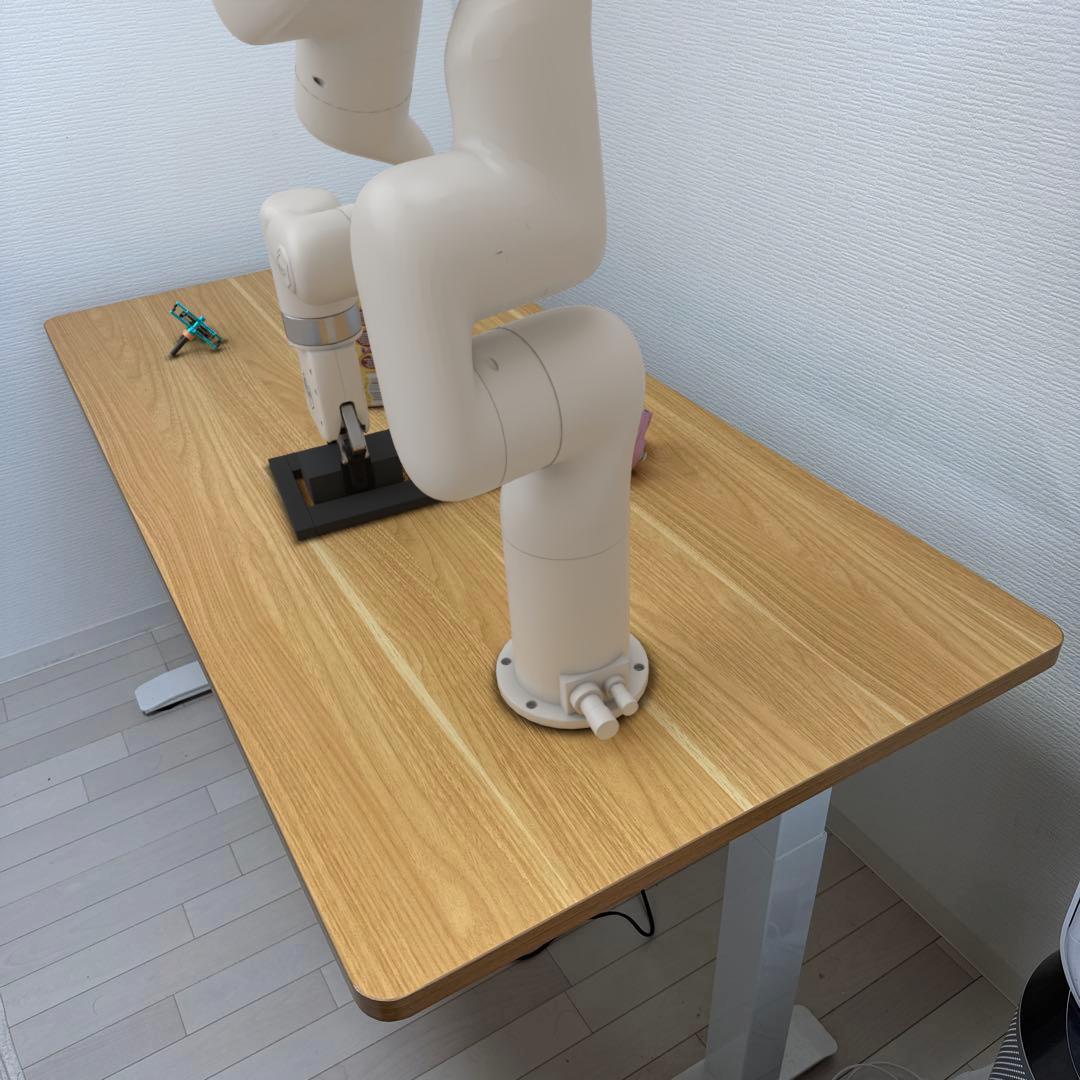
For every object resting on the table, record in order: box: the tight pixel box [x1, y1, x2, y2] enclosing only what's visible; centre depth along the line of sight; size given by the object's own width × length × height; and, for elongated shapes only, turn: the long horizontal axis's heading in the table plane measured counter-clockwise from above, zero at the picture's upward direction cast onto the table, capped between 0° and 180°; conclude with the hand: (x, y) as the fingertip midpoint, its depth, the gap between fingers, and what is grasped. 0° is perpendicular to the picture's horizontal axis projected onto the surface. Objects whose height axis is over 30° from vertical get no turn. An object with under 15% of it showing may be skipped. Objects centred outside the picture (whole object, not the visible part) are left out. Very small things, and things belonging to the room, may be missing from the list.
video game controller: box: [631, 408, 653, 470], centre depth 105 cm, size 10×5×7 cm, turn 168°
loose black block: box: [296, 430, 405, 505], centre depth 105 cm, size 6×10×3 cm, turn 113°
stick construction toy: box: [169, 301, 223, 357], centre depth 138 cm, size 12×7×8 cm
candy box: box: [354, 295, 384, 408], centre depth 119 cm, size 9×4×15 cm, turn 2°
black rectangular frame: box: [267, 428, 442, 541], centre depth 107 cm, size 16×22×1 cm
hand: (352, 474), depth 106 cm, fingers closed on loose black block, 5 cm apart
